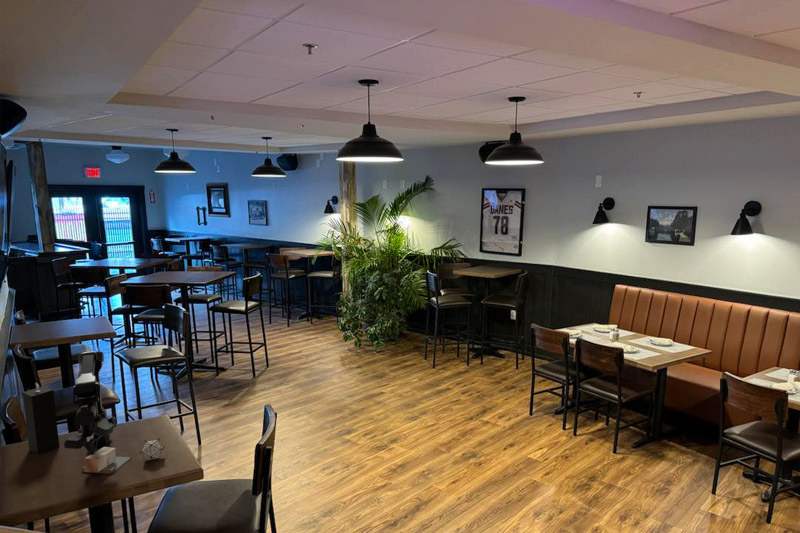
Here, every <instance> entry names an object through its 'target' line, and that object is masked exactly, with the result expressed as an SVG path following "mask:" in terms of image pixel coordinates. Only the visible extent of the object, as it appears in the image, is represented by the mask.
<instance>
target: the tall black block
mask: <svg viewBox="0 0 800 533" xmlns="http://www.w3.org/2000/svg"><path fill="white" fill-rule="evenodd" d="M21 394H22V399H23V407H24V408H23V409H24V415H25V424H26V433H27V441H28V449H29V451H30V450H31V451H30V452H32V453H34V454H35V455H37V456H40V455H43V454H45V453H48V452H50V451H53V450H56V449H58V448H60V438H59V431H58V421H57V412H56V404H55V395H54V394H55V392H54V389H52V388H50V387H48V386H46V385H44V386H40V385H39V383H37V382H35V388H32V389H30V390H26V391H23V392H22V393H21Z"/></svg>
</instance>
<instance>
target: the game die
mask: <svg viewBox="0 0 800 533" xmlns="http://www.w3.org/2000/svg"><path fill="white" fill-rule="evenodd" d="M160 439H161V438H160V437H158V438H157V439H153V440H148V441H147V440H146V439H144V442H145V443H144V445H143V447H142V449H141V450H140V451H139V454H142V456H143V458H144V460H145V461H144V463H146V462H148V461H151V460H158V461H161V458H160V457H161V454H162V452H163V450H164V449H165V448H166V447H165V446H163V445H162V443H161V441H160Z"/></svg>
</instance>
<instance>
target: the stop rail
mask: <svg viewBox="0 0 800 533" xmlns="http://www.w3.org/2000/svg"><path fill="white" fill-rule="evenodd" d="M115 472H116V471H115V467H105V468H104V469H102V470H101V471H99V472H98V473H96V472H90V473H93V474H94V473H95V474H107V475H112V474H114V473H115ZM81 473H86V472H85V465H84V466H83V467H81Z"/></svg>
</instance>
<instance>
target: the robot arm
mask: <svg viewBox="0 0 800 533" xmlns="http://www.w3.org/2000/svg"><path fill="white" fill-rule="evenodd" d="M77 360H78V365H79V366H81V367H80V375H79V377H78V378H76V380H75V385H72V386H73V387H72V399H73V400H72V402H73V403H72V405H73V406H78V408H77V411H76V414H75V418H74V419H75V422H76V424H77V425H79V426H80V428H79V429H78V430H77V432H78V433H79V435H71V436H70V437H68V438H67V439H65V440H64V441H63V446H64V449H71V450H72V449H73V450H79V449H82V448H83V447H84V448H85V450H86V451H87V452H88V453H89V455H94V454H95V452H96V451H97V449H99V450H100V449H101V448H103V447H107V445H109V444H110V443H111V442H113V440H112V439H111V438H110V434H112V433H113V431H114V429H115V428H116V427H117V418H116V417H115V416H111V417H109V416H110V415H109V416H108V413H107V410H106V409H105V408H104V406H102V405H103V404H102V394H101V390H102V389H101V388H102V387H101V382H100V381H101V380H100V371H101V369H102V367H103V364H104V362H105V355H104V352H102V351H101V350H96V351H94V350H92V351H91V350H90V351H84V352H81V353H80V354H78V355H77Z"/></svg>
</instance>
